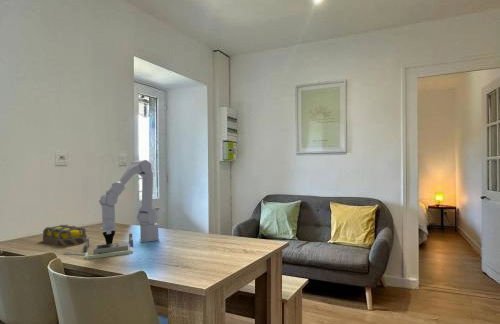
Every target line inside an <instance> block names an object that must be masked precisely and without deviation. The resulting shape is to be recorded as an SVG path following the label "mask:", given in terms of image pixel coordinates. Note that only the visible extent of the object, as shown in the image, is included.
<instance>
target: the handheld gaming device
mask: <svg viewBox="0 0 500 324" xmlns="http://www.w3.org/2000/svg"><path fill="white" fill-rule="evenodd" d="M128 250H129V245H128V243H127V242H117V243H116V242H115V243H112V244H106V243H105V244H98V245H97V244H95V245H94V246H93V250H92V252H93V254H92V255H96V254H104V253H112V252H120V251H128Z"/></svg>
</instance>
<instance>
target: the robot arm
mask: <svg viewBox="0 0 500 324" xmlns="http://www.w3.org/2000/svg"><path fill="white" fill-rule="evenodd" d="M136 174H138V175H139V176H140V177H141V178H142V184H141V185H142V188H141V206H140V208H139V209H138V213H137V215H136V221H138V222H139V225H140V226H139V232H140V233H139V234H140V238H139V243H146V242H154V241H159V240H160V239H159V224H158V223H157V222H156V221H157V217H158V216H157V213H156V209H155V208H154V206H153V196H154V195H153V191H154V190H153V189H154V172H153V169H152V163H151V162H150V161H149V160H147V159H142V160H133V161H131V163H130V164H129V165H128V168H127V169H126V171H124V173H123V174H122V176H121V178H120V179H119V180H118V181H115V182H112V184H111V186H110V188H109V189H108V190H106V191H105V194H102V195H101V197H100V199H99V200H98V202H99V205H100V206H101V214H102V215H101V216H102V217H101V219H102V221H101V222H102V227H100V228H99V231H103V232H102V235H103V237H104V239H105V240H104V241H105V244H113V241H114V237H115V234H116V210H115V209H116V207H115V205H116V204H118V198H119V196H120V195H121V194H122V193H123V191H124V190H125V189H126V184H127V183H128V182H129V181H130V180H131V179H132V178H133V176H134V175H136Z"/></svg>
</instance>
